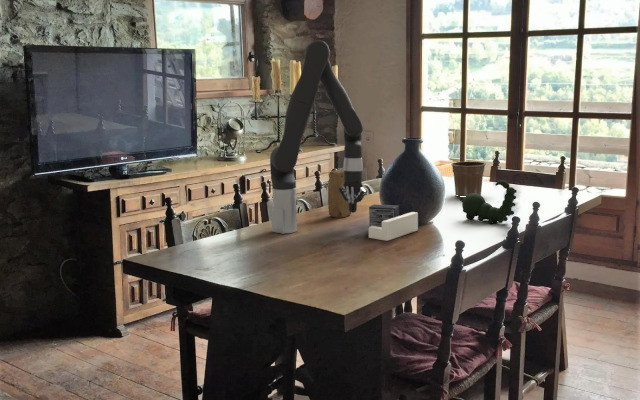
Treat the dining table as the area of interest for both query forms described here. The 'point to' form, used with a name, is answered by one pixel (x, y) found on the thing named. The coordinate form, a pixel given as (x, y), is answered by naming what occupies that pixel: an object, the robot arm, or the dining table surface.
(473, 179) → the plant pot
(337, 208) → the block
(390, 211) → the small box
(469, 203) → the toy figurine
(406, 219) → the board
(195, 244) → the dining table surface
